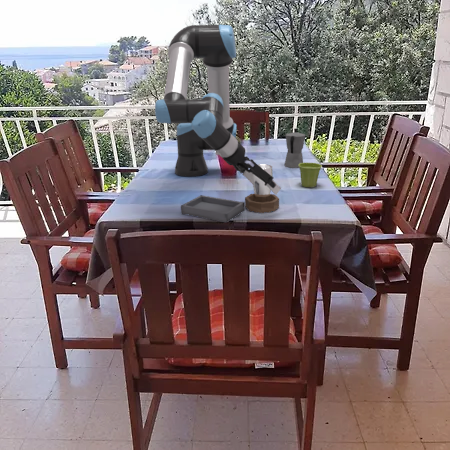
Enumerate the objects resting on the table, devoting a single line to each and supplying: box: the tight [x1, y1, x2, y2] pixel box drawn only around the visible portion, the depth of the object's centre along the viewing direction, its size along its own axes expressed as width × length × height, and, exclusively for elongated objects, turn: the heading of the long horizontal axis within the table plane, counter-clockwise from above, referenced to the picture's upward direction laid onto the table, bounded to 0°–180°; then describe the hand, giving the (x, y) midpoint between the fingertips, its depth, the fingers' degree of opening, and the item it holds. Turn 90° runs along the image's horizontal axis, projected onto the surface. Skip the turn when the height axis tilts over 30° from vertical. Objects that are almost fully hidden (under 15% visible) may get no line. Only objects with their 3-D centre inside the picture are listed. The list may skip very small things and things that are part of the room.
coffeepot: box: [284, 128, 306, 169], centre depth 205 cm, size 15×9×18 cm, turn 161°
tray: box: [180, 194, 245, 223], centre depth 151 cm, size 18×13×3 cm
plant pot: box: [298, 162, 323, 188], centre depth 177 cm, size 9×9×9 cm
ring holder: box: [244, 193, 280, 214], centre depth 155 cm, size 11×11×4 cm
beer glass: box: [252, 163, 274, 203], centre depth 152 cm, size 7×7×15 cm
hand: (266, 186), depth 153 cm, fingers open, 13 cm apart
